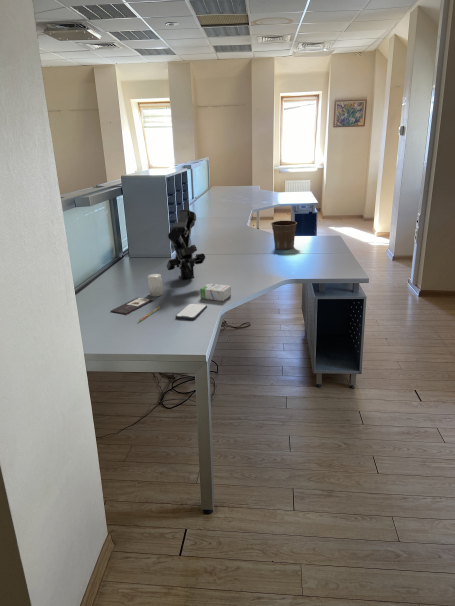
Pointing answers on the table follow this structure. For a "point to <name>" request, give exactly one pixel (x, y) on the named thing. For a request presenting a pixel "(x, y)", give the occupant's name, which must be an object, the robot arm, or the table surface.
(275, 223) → the plant pot
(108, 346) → the table surface
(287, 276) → the table surface
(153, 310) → the pencil
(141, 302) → the chocolate bar
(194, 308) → the smartphone
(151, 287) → the white rounded cylinder
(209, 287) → the ink box
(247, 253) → the table surface
